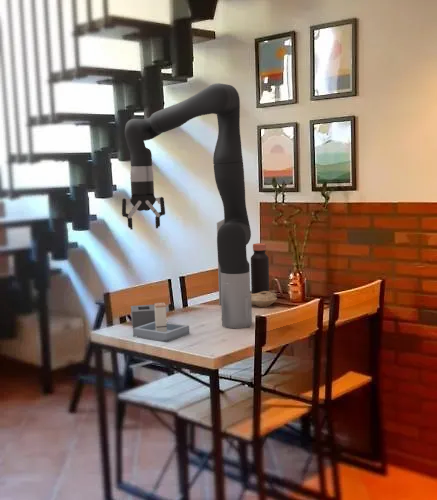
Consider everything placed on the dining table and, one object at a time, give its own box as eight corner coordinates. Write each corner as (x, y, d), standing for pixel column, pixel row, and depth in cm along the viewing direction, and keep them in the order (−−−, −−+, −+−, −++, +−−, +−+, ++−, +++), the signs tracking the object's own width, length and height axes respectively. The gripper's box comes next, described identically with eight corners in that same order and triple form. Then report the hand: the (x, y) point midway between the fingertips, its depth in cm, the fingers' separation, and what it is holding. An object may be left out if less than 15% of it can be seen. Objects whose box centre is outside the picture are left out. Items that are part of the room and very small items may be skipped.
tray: (189, 333, 212) (189, 325, 211) (166, 342, 203) (165, 333, 202) (156, 328, 219) (156, 320, 219) (133, 336, 210) (132, 328, 210)
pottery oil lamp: (240, 302, 252) (247, 284, 253) (271, 314, 250) (278, 296, 251) (239, 299, 243) (246, 280, 244) (271, 311, 241) (278, 292, 242)
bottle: (272, 296, 263) (271, 244, 261) (257, 298, 260) (256, 245, 257) (263, 293, 269) (262, 242, 266) (248, 295, 266) (246, 244, 263)
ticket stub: (165, 331, 213) (164, 302, 212) (167, 334, 209) (165, 305, 208) (155, 331, 212) (154, 303, 211) (156, 335, 208) (155, 305, 207)
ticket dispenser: (155, 320, 230) (155, 304, 229) (158, 327, 221) (157, 310, 220) (131, 322, 228) (130, 305, 228) (132, 328, 220) (132, 311, 219)
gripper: (120, 181, 225) (123, 230, 227) (164, 179, 227) (166, 228, 229) (120, 180, 232) (122, 228, 234) (162, 179, 234) (164, 226, 237)
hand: (144, 228), depth 232 cm, fingers open, 8 cm apart
